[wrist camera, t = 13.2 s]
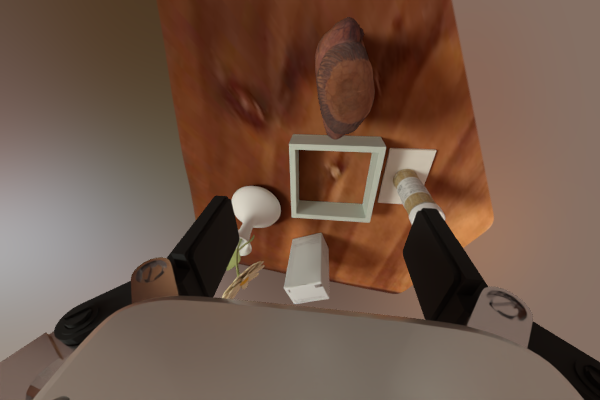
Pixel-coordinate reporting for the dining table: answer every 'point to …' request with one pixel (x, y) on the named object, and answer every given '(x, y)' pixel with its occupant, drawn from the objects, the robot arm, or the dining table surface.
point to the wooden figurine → (343, 78)
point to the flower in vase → (250, 229)
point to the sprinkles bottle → (413, 193)
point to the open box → (332, 208)
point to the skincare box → (308, 269)
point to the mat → (404, 160)
